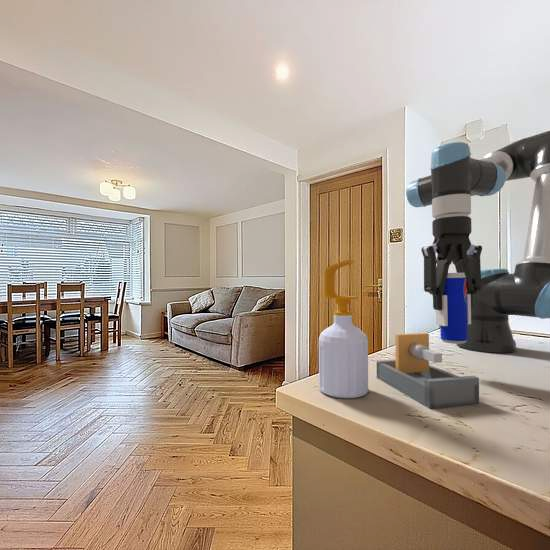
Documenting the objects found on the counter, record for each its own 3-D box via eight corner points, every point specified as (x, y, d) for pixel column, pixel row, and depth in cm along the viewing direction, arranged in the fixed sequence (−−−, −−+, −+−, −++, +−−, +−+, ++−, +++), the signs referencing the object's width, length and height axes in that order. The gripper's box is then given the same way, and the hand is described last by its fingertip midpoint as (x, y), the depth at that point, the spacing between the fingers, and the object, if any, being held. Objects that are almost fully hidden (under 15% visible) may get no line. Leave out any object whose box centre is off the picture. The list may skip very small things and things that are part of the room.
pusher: (425, 369, 68) (425, 332, 68) (454, 382, 60) (454, 340, 60) (395, 371, 66) (395, 334, 66) (421, 384, 59) (421, 342, 59)
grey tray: (416, 374, 73) (416, 354, 73) (479, 403, 56) (479, 377, 56) (376, 377, 71) (376, 356, 71) (429, 408, 54) (429, 381, 54)
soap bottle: (359, 403, 57) (358, 258, 57) (310, 393, 62) (310, 260, 62) (374, 388, 64) (373, 260, 64) (329, 380, 69) (329, 261, 69)
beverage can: (471, 344, 70) (469, 272, 70) (444, 343, 71) (443, 273, 71) (462, 339, 75) (461, 272, 75) (437, 339, 76) (436, 273, 76)
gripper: (473, 220, 78) (475, 319, 78) (403, 220, 74) (406, 324, 75) (501, 215, 71) (503, 324, 71) (425, 214, 67) (428, 329, 67)
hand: (453, 324), depth 73 cm, fingers closed on beverage can, 5 cm apart
